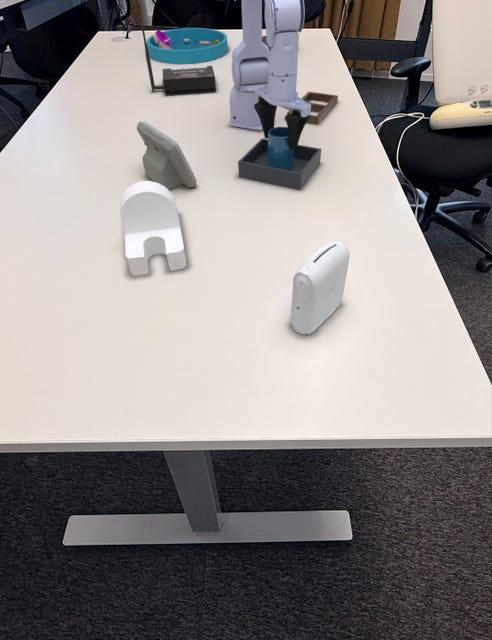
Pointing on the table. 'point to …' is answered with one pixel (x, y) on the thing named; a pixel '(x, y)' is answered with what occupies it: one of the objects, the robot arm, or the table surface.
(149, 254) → the bracket
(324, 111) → the rack
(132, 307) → the table surface
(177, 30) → the teal round tray
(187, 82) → the wireless controller
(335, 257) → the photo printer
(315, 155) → the dark grey tray
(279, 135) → the cup
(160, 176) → the digital clock
